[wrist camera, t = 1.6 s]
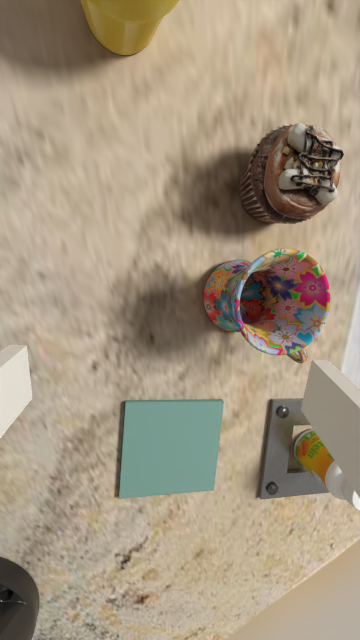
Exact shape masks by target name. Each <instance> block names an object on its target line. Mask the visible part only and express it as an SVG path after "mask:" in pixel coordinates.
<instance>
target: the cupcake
mask: <svg viewBox="0 0 360 640" xmlns="http://www.w3.org/2000/svg"><path fill="white" fill-rule="evenodd" d="M343 155H344V154H343V151H342V150H340V148H339V147H337V146H336V144H335V143H334V141H333V139H332V138H331V136H330V135H329V134H328V133H327V132H326V131H325V130H324V129H322V128H320V127H317V126H313V125H312V126H311V125H304V124H302V123H298V124H295V125H291V124H290V125H289V126H285V125H283V126H282V127H279V126H278V128H277V129H276V130H275V131H274V130H273V129H272V130H271V132H270V133H269V134H268V133H266V135H265V137H264V138H262V139H261V141H260V143H259V144H257V146H256V148H255V150H254V152H253V154H252V156H251V158H250V159H249V160H248V162H247V163H246V164H245V166H244V169H243V170H242V171H241V173H240V174H241V179H240V183H239V193H240V197H241V202H242V205H243V206H244V208H245V210H246V211H247V212H248V213H249V214H250V215H251V216H252V217H253V218H254V219H256V220H259V221H263V222H265V223H284V224H287V223H290V224H296V223H298V222H302V221H306V220H307V219H311V217H313V216H314V215H316V214H317V213H318V212H320V211H322V210H323V209H324V208H325V207H326V206H327V205H328V204H329V203H330V202H332V201H333V200H334V199H335V198H336V197H337V195H338V192H337V189H336V188H337V186H338V183H339V177H340V166H341V164H340V160H341V159H342V157H343Z"/></svg>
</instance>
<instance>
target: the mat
mask: <svg viewBox="0 0 360 640" xmlns="http://www.w3.org/2000/svg"><path fill="white" fill-rule="evenodd" d="M223 403H224V401H223V400H222V399H220V400H125V415H124V429H123V444H122V458H121V472H120V487H119V499H123V498H134V497H145V496H156V495H167V494H178V493H189V492H200V491H211V490H214V484H215V475H216V466H217V457H218V448H219V439H220V430H221V421H222V412H223Z"/></svg>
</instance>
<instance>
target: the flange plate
mask: <svg viewBox="0 0 360 640" xmlns="http://www.w3.org/2000/svg"><path fill="white" fill-rule="evenodd" d="M302 402H303V399H271V405H270V413H269V421H268V428H267V436H266V443H265V451H264V459H263V466H262V474H261V481H260V489H259V498H260V499H270V498H279V497H289V496H299V495H308V494H318V493H328V492H329V491H328V490H327V489H326V488H325V487H324V486H323V485H322V484H321V483H320V482H318V481H317V480H316V479H315V478H314V477H313V476H312V475H311V474H310V473H309V472H308V471H307V470H306V469H303V470H290V471H287V469H288V462H289V455H290V448H291V441H292V434H293V427H294V425H311V424H310V423H309V421H308V420H307V418H306V417H305V415H304V414H303V412H302V411H301V407H302Z"/></svg>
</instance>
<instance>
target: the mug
mask: <svg viewBox="0 0 360 640" xmlns="http://www.w3.org/2000/svg"><path fill="white" fill-rule="evenodd" d="M204 306H205V309H206V312H207V314H208V316H209V318H210V319H211V320H212V321H213V323H214V324H216V325H217V326H218V327H220V328H221V329H223V330H226V331H230V332H241V334H242V335H243V337H244V338H245V339H246V340H247V342H248V343H249V344H250V345H252V346H253V347H254V348H256V349H257V350H259V351H261V352H264V353H267V354H271V355H288V356H289V357H290V358H291V359H293V360H294V361H296V362H298V363H303V362H305V361H306V360H307V357H308V356H307V352H306V350H305V348H304V347H306V346H307V345H308V344H310V343H311V342H312V341H313V340H314V339H315V338H316V336H317V335H318V334H319V332H320V331H321V329H322V328H323V326H324V324H325V321H326V319H327V316H328V312H329V307H330V289H329V284H328V281H327V278H326V275H325V273H324V271H323V270H322V268H321V267H320V265H319V264H318V263H317V262H316V261H315V260H314V259H313V258H311V257H310V256H309V255H307V254H305V253H303V252H301V251H298V250H294V249H277V250H273V251H270V252H268V253H265V254H263V255H262V256H260V257H259V258H257V259H256V260H255V261H254V262H253V263H251V262H248V261H244V260H233V261H229V262H226V263H224V264H222V265H220V266H219V267H218V268H217V269H216V270H215V271H214V272H213V273H212V274H211V275H210V277H209V279H208V281H207V283H206V285H205V289H204ZM297 351H298V353H299V355H300V356H299V355H297V354H296V353H295V352H297Z"/></svg>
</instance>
